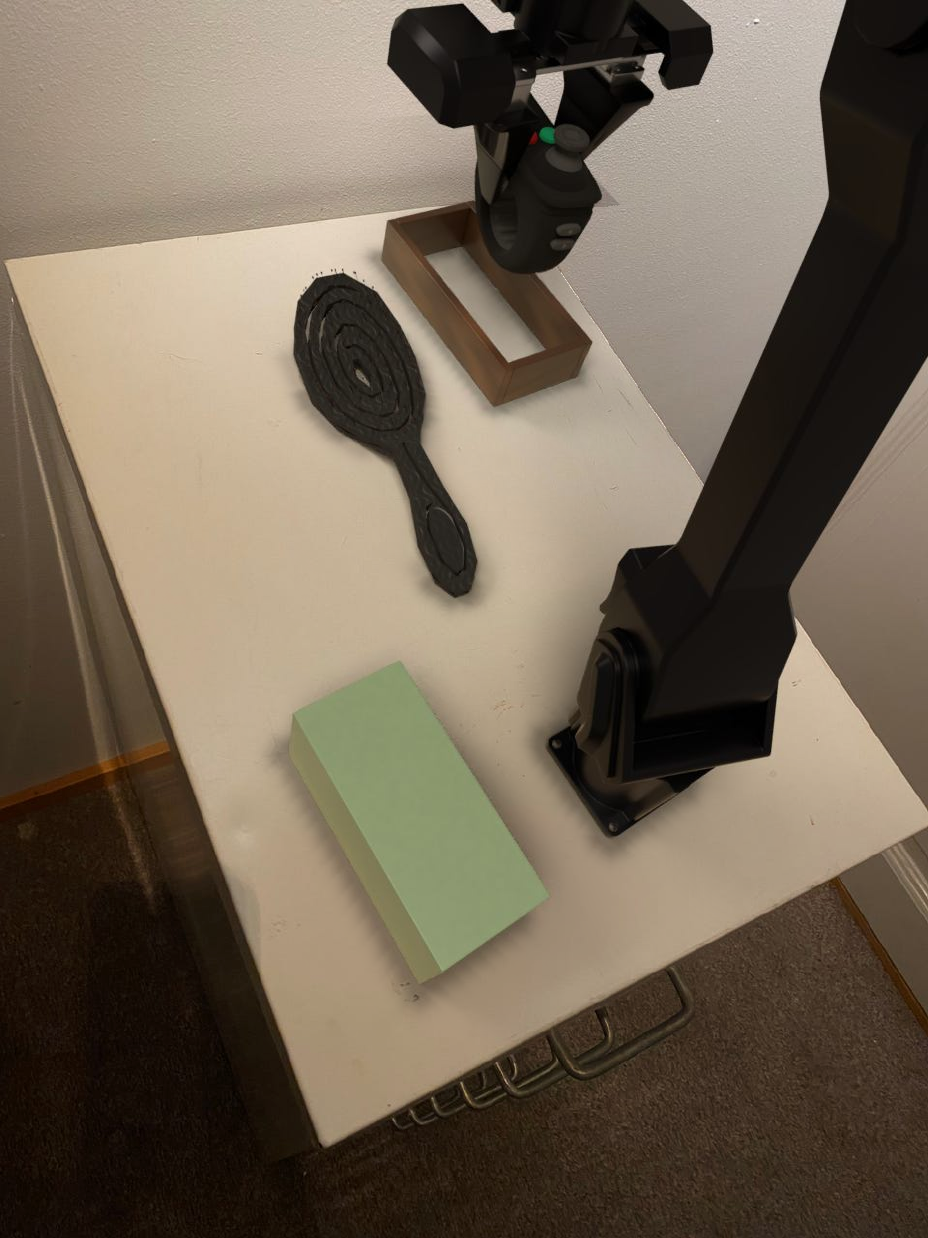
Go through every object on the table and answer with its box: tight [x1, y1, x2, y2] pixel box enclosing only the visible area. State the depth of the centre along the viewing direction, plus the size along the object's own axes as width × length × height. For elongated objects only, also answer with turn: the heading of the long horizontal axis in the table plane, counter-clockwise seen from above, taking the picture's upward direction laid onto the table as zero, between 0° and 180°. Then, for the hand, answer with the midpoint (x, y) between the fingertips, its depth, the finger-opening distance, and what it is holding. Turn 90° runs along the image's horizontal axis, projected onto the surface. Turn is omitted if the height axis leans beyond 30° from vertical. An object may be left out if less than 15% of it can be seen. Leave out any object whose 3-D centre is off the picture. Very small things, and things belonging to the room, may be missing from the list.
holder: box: [380, 199, 594, 407], centre depth 62 cm, size 16×8×4 cm, turn 33°
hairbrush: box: [292, 267, 478, 599], centre depth 54 cm, size 8×4×25 cm
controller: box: [473, 91, 603, 274], centre depth 51 cm, size 4×12×10 cm, turn 23°
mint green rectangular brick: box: [288, 659, 552, 985], centre depth 41 cm, size 13×6×6 cm, turn 33°
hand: (518, 192), depth 52 cm, fingers closed on controller, 4 cm apart
